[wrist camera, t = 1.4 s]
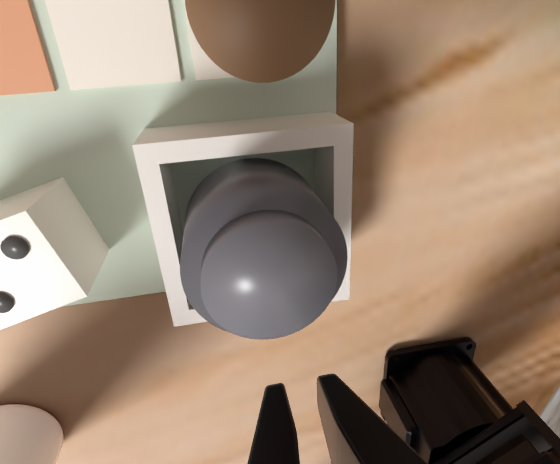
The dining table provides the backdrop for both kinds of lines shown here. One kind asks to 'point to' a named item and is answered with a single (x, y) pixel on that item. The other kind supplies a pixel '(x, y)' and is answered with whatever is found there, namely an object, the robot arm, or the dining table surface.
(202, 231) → the popper button
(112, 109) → the board
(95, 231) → the die
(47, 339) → the dining table surface
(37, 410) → the white tapered vase
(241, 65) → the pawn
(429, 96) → the dining table surface
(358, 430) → the robot arm
